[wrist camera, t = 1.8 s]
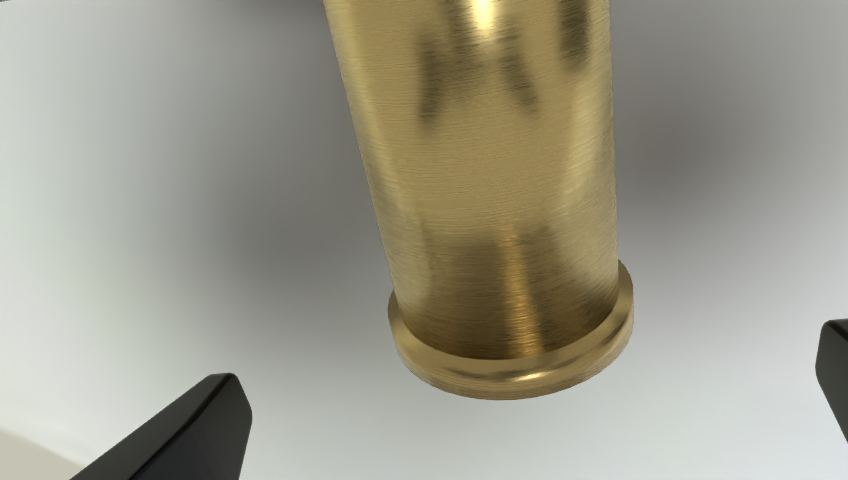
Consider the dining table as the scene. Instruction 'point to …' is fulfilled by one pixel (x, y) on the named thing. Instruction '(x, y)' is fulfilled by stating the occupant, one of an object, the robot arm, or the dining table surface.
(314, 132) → the dining table surface
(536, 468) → the dining table surface
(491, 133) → the gold cylindrical piece
